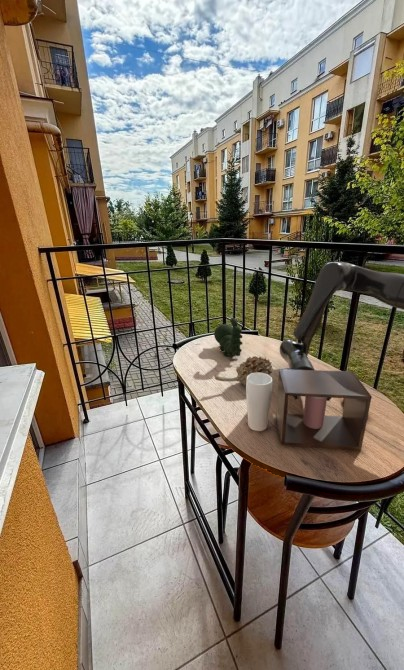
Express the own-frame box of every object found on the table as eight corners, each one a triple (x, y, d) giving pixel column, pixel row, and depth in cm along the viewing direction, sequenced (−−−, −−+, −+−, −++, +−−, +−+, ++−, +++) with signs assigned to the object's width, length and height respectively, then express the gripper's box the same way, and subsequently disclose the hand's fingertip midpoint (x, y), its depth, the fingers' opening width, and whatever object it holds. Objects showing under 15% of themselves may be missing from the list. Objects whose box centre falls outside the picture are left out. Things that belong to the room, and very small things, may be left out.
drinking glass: (273, 433, 75) (276, 383, 70) (248, 435, 75) (249, 385, 69) (265, 417, 81) (268, 371, 76) (242, 419, 81) (243, 373, 76)
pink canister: (320, 417, 79) (324, 386, 75) (326, 429, 74) (330, 397, 70) (300, 416, 80) (304, 385, 76) (304, 428, 75) (308, 396, 71)
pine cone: (262, 373, 106) (262, 349, 103) (277, 384, 98) (279, 359, 95) (209, 386, 99) (208, 361, 95) (221, 400, 90) (221, 373, 87)
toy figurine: (247, 363, 118) (228, 338, 140) (249, 322, 110) (229, 302, 132) (225, 366, 116) (210, 340, 138) (226, 324, 108) (210, 304, 130)
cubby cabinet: (344, 419, 79) (352, 371, 74) (361, 450, 68) (371, 396, 63) (276, 415, 82) (279, 369, 76) (281, 445, 71) (285, 392, 65)
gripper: (280, 359, 93) (287, 384, 78) (325, 360, 90) (341, 386, 75) (279, 379, 95) (285, 407, 80) (323, 381, 93) (338, 410, 78)
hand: (312, 397), depth 78 cm, fingers open, 8 cm apart
